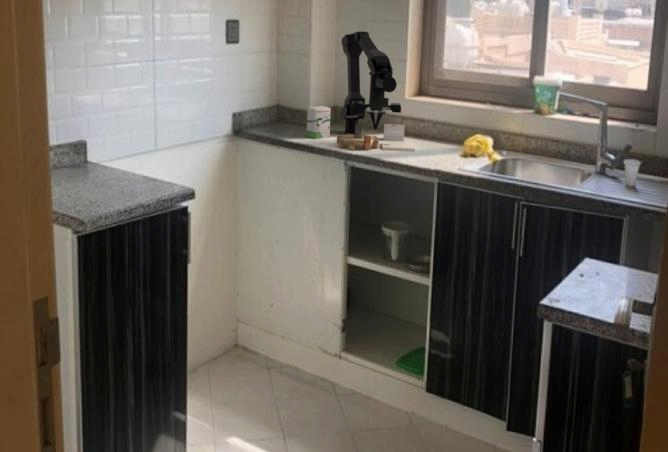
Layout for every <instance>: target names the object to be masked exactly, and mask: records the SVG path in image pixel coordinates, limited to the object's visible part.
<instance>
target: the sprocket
mask: <svg viewBox="0 0 668 452" xmlns="http://www.w3.org/2000/svg"><path fill="white" fill-rule="evenodd" d="M362 127H363V125H362V124H360V123H359V124H356V125H355V134H343V135H339V134H338V135H337V136H336V145H337V147H338V148H346V149H349V150H353V151H354V150H367V151H368V150H371V149H374V148H375V149H378V148H379V145H380V139H379V138H378V136H377V135H367V134H365V133H362Z"/></svg>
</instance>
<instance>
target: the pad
mask: <svg viewBox="0 0 668 452" xmlns="http://www.w3.org/2000/svg"><path fill="white" fill-rule="evenodd" d="M381 146H382V150H383V151H399V152H401V151H402V152H415V150H416V149H415V143H414V142H404V141H385V140H382V145H381Z"/></svg>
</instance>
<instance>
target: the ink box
mask: <svg viewBox="0 0 668 452" xmlns="http://www.w3.org/2000/svg"><path fill="white" fill-rule="evenodd" d="M306 115H307V116H306V138H310V139H314V140H315V139H323V138H330V136H331V135H330V134H331V133H330V132H331V107H328V106H326V105H325V106H324V105H319V106H308V107H307V114H306Z"/></svg>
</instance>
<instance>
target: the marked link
mask: <svg viewBox="0 0 668 452" xmlns="http://www.w3.org/2000/svg"><path fill="white" fill-rule="evenodd" d="M404 140H405V124H398V123H384V124H383V139H382V141H385V142H404Z"/></svg>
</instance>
